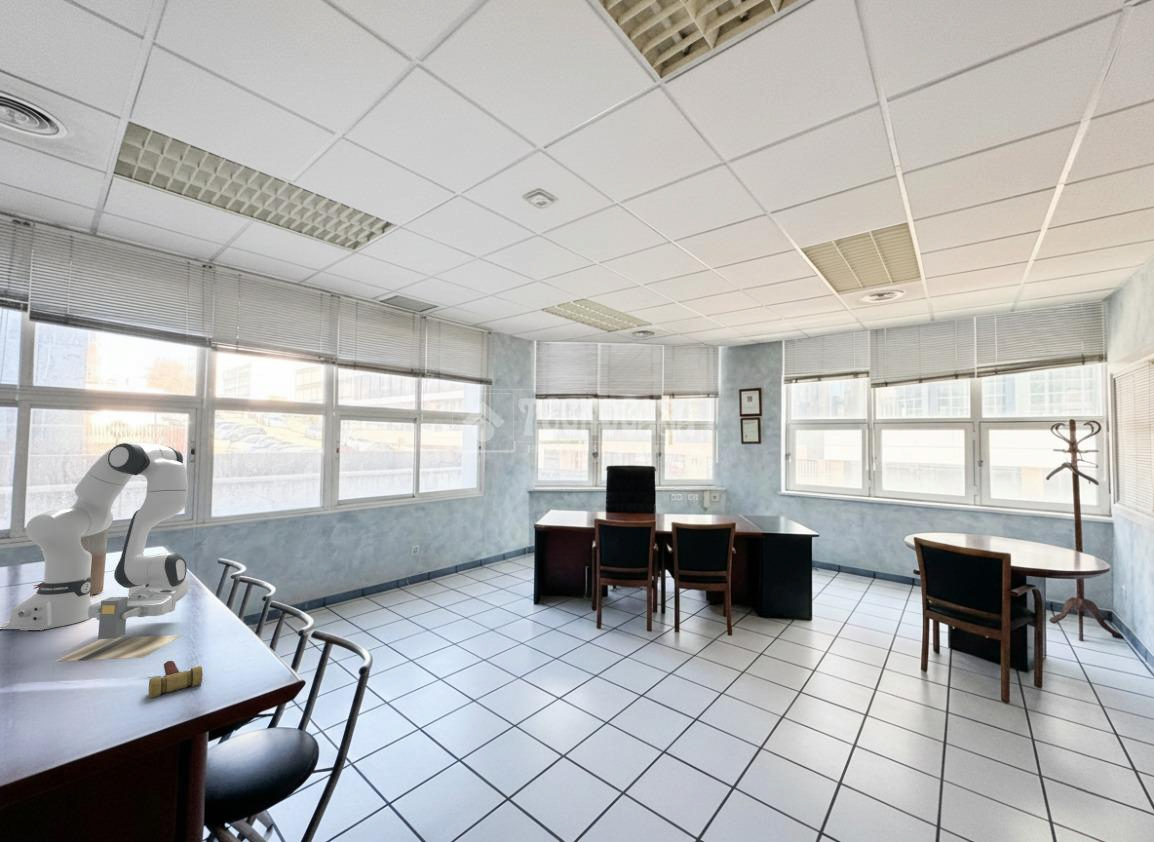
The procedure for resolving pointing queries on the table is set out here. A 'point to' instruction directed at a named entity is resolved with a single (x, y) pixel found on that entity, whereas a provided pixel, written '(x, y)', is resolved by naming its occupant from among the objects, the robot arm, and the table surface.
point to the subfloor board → (120, 648)
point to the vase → (96, 558)
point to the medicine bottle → (136, 589)
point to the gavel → (174, 679)
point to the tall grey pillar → (112, 618)
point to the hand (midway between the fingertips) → (110, 616)
